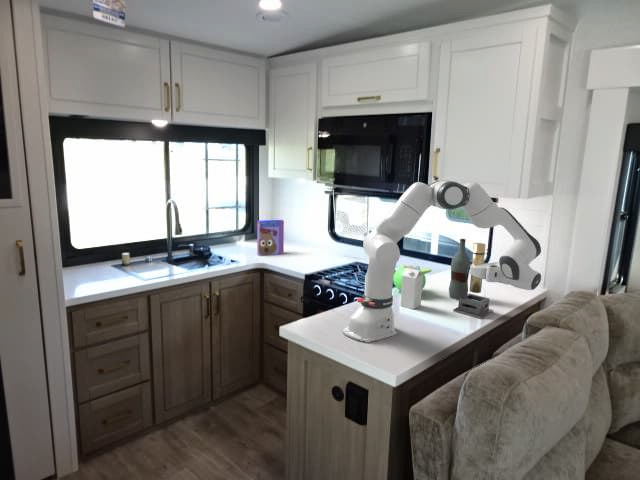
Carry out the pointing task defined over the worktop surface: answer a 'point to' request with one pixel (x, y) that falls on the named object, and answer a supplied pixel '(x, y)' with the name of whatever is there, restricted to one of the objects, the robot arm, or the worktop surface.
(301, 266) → the worktop surface
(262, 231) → the cereal box
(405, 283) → the milk carton
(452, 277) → the bottle
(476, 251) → the brass tube
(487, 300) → the collar stand
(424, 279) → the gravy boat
